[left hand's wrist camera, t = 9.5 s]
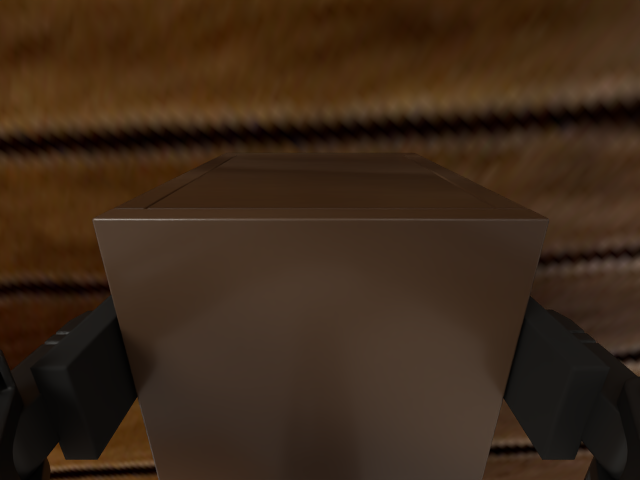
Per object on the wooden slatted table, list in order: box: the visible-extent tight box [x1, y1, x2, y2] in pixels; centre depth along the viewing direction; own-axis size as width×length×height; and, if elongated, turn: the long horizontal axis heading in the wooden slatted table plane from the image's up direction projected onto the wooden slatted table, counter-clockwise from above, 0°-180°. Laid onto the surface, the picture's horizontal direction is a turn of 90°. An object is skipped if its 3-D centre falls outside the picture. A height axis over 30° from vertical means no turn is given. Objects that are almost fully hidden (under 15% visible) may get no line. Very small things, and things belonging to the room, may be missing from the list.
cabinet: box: [93, 153, 549, 480], centre depth 16 cm, size 17×10×11 cm, turn 0°
